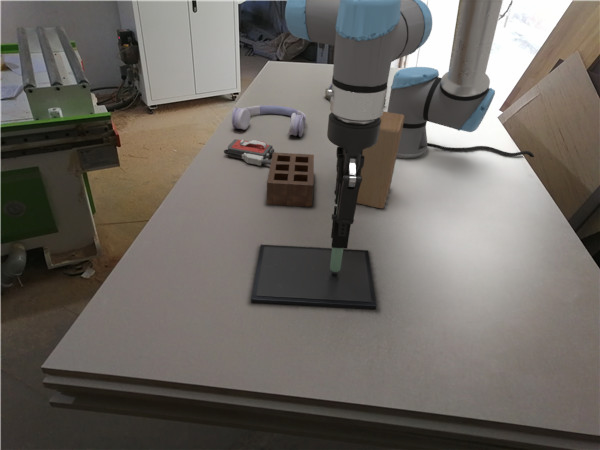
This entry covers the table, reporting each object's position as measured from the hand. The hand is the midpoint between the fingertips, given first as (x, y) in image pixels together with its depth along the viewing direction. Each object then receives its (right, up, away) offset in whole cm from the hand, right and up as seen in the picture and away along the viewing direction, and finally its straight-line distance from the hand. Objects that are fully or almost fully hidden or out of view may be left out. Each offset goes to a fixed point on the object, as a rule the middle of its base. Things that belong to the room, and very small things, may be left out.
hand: (338, 241), depth 72 cm
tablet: (-4, -7, +5) cm, 10 cm away
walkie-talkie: (-18, +21, +42) cm, 51 cm away
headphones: (-16, +36, +61) cm, 73 cm away
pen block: (-9, +12, +30) cm, 34 cm away
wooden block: (+10, +10, +29) cm, 33 cm away
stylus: (0, -6, +4) cm, 7 cm away
